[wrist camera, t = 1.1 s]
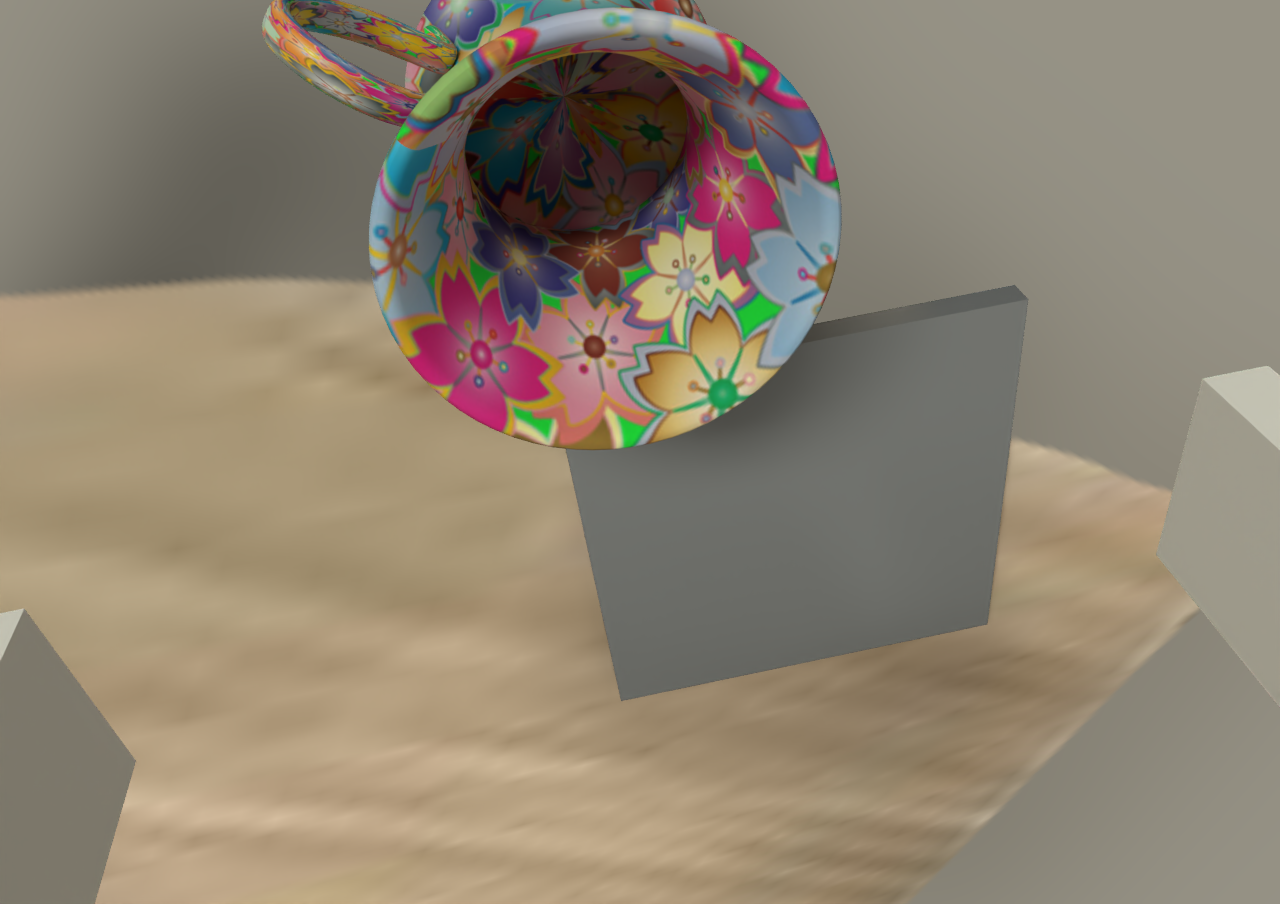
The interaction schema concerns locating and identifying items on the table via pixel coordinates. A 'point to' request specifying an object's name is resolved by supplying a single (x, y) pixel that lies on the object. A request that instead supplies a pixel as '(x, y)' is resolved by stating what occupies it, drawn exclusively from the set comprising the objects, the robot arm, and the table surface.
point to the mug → (584, 208)
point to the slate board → (814, 502)
